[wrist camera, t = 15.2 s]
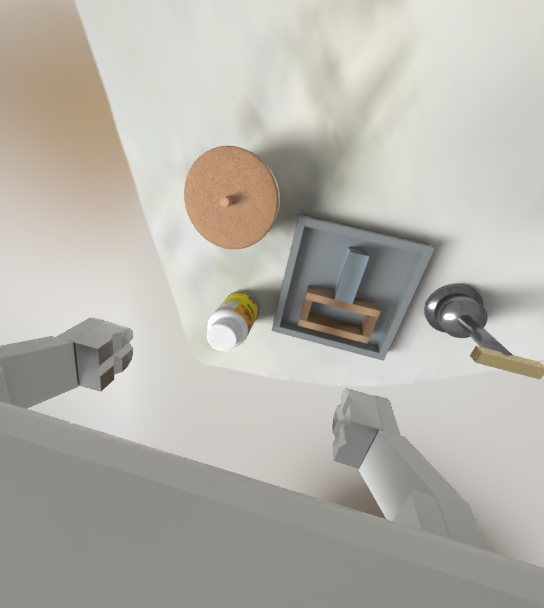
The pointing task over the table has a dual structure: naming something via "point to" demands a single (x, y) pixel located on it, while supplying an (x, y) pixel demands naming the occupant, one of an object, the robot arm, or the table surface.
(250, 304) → the supplement bottle
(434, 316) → the plunger
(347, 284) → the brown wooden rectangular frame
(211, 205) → the lidded jar
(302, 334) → the tray
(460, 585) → the robot arm
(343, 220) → the table surface
